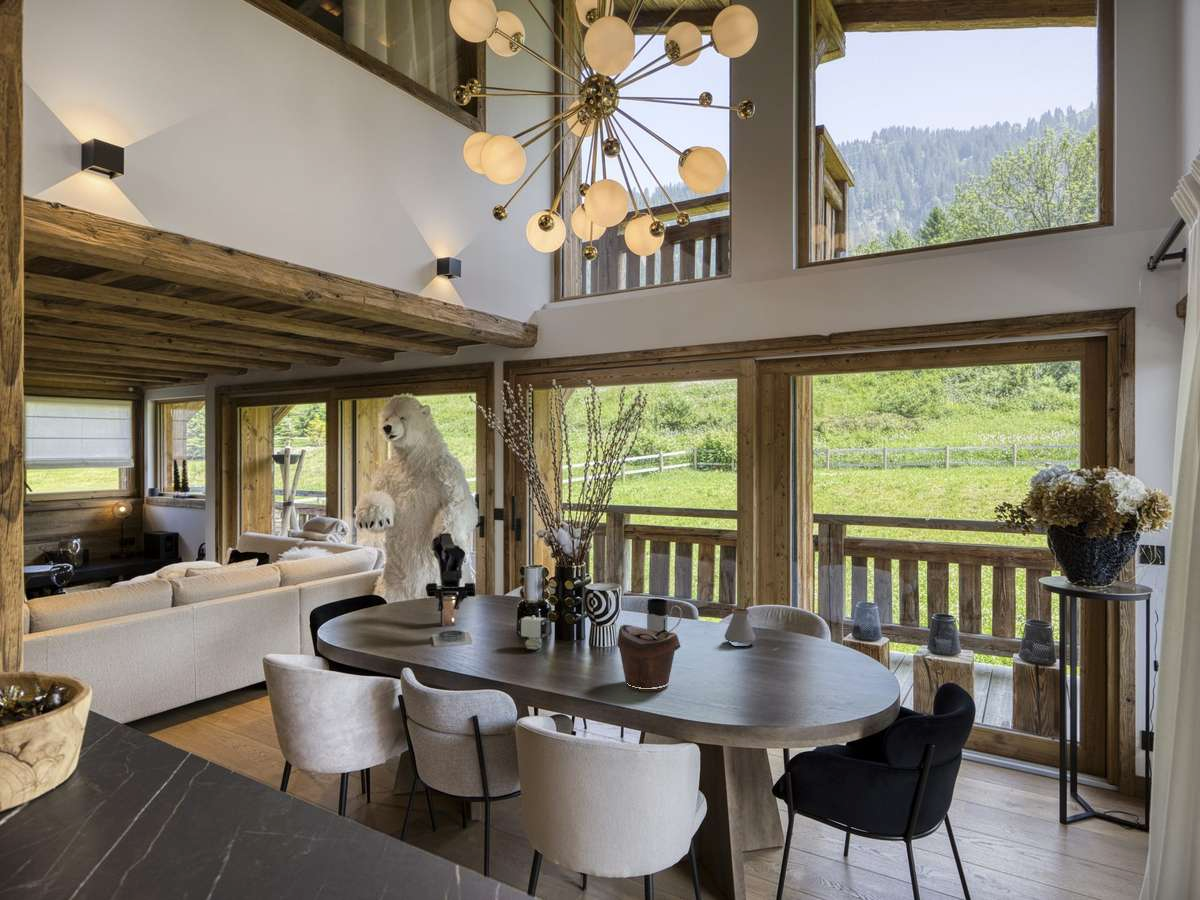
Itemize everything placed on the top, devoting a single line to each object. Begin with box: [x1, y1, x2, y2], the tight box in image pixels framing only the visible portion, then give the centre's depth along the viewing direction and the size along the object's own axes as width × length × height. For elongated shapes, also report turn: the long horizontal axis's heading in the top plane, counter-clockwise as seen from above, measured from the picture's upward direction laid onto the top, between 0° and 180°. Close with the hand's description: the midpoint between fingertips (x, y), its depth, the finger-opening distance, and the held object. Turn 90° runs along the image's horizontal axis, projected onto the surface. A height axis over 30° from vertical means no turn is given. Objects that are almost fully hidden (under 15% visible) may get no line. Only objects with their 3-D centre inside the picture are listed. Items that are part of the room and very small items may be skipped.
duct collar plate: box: [431, 629, 473, 647], centre depth 263 cm, size 14×14×2 cm
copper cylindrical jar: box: [441, 595, 457, 628], centre depth 262 cm, size 5×5×11 cm
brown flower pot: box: [617, 624, 681, 693], centre depth 212 cm, size 18×20×18 cm
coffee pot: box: [724, 597, 757, 643], centre depth 263 cm, size 21×12×15 cm, turn 154°
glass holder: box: [646, 598, 683, 633], centre depth 264 cm, size 9×14×15 cm, turn 64°
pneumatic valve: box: [515, 615, 551, 651], centre depth 253 cm, size 6×12×12 cm, turn 72°
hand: (448, 608), depth 261 cm, fingers closed on copper cylindrical jar, 5 cm apart
